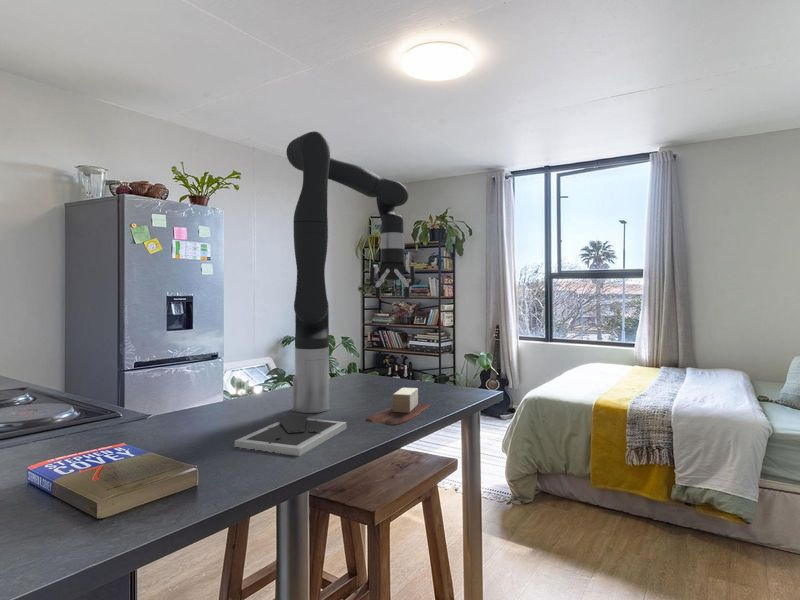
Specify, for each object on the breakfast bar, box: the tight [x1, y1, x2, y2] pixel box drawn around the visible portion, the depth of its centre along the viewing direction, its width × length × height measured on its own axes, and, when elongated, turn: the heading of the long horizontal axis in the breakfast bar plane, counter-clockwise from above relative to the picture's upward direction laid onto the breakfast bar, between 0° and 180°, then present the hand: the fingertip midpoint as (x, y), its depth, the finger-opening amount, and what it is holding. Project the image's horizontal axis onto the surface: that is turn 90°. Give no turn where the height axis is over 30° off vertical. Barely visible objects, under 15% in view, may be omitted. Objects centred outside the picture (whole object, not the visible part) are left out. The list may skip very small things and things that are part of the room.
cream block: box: [392, 387, 419, 413], centre depth 133 cm, size 5×5×10 cm
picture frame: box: [234, 413, 348, 457], centre depth 109 cm, size 16×3×21 cm
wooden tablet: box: [365, 402, 433, 426], centre depth 132 cm, size 26×2×10 cm
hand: (392, 299), depth 154 cm, fingers open, 8 cm apart
